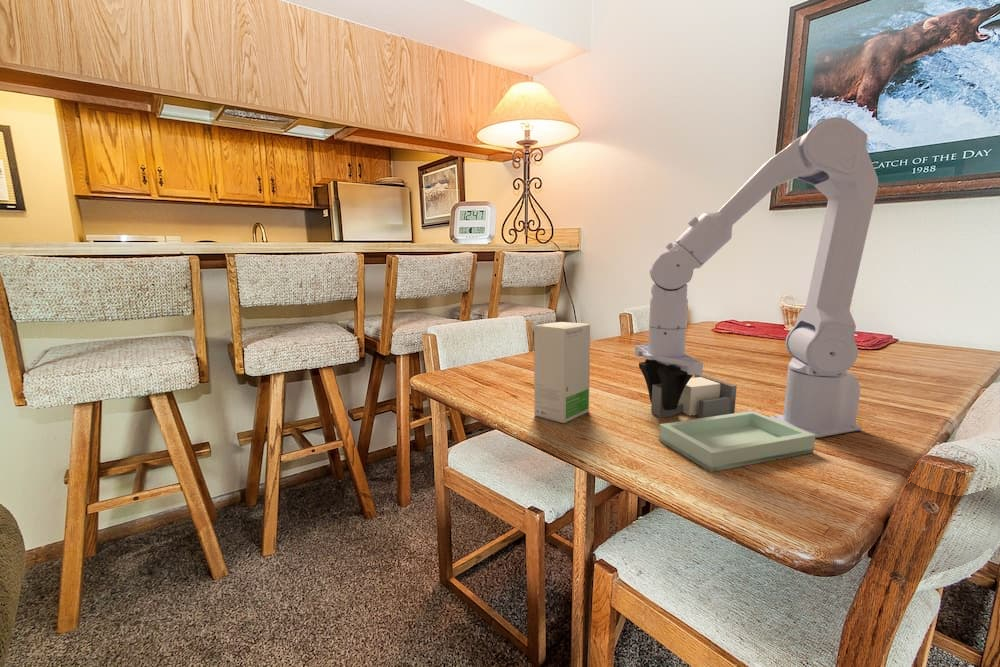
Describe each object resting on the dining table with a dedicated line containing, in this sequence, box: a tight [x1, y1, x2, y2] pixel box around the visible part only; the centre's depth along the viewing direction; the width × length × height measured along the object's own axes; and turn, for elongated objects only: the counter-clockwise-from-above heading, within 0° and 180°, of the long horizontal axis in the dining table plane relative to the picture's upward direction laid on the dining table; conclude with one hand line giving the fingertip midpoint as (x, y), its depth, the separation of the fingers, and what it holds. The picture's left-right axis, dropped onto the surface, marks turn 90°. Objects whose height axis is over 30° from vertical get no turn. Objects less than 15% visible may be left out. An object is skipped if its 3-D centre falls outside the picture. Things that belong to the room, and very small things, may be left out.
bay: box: [694, 373, 737, 419], centre depth 75 cm, size 6×8×5 cm
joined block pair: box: [650, 377, 720, 418], centre depth 74 cm, size 11×4×5 cm, turn 107°
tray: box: [658, 410, 816, 473], centre depth 61 cm, size 17×10×2 cm, turn 107°
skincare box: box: [533, 321, 591, 424], centre depth 73 cm, size 8×7×16 cm
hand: (663, 405), depth 73 cm, fingers open, 3 cm apart
